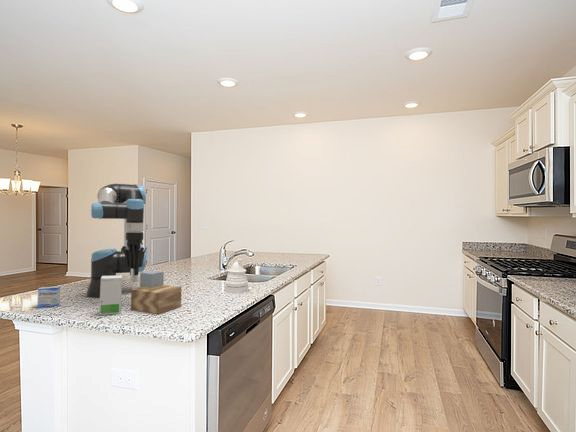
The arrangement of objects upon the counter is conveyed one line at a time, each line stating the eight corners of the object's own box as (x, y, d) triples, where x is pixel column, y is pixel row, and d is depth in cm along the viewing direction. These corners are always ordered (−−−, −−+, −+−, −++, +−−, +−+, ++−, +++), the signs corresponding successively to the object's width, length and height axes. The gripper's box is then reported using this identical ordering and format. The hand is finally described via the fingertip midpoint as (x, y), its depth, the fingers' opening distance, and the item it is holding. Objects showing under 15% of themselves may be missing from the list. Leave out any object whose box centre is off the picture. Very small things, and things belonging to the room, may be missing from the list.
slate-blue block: (140, 288, 153) (140, 272, 153) (151, 285, 159) (152, 270, 159) (151, 289, 150) (152, 274, 150) (163, 286, 157) (163, 271, 156)
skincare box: (98, 315, 141) (99, 278, 141) (100, 311, 147) (101, 275, 147) (121, 313, 144) (121, 277, 144) (122, 309, 150) (122, 274, 150)
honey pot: (252, 290, 192) (253, 258, 192) (237, 294, 182) (238, 261, 182) (235, 287, 199) (236, 257, 199) (220, 291, 189) (220, 259, 188)
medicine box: (37, 308, 150) (37, 288, 150) (39, 306, 154) (39, 286, 154) (58, 306, 153) (58, 287, 153) (60, 304, 157) (60, 285, 157)
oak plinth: (130, 309, 150) (131, 289, 150) (154, 302, 163) (154, 283, 163) (158, 314, 144) (159, 293, 144) (181, 306, 157) (181, 287, 157)
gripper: (117, 231, 158) (117, 282, 158) (138, 232, 153) (138, 284, 153) (131, 231, 165) (130, 279, 165) (151, 232, 160) (150, 281, 160)
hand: (134, 282), depth 159 cm, fingers closed
